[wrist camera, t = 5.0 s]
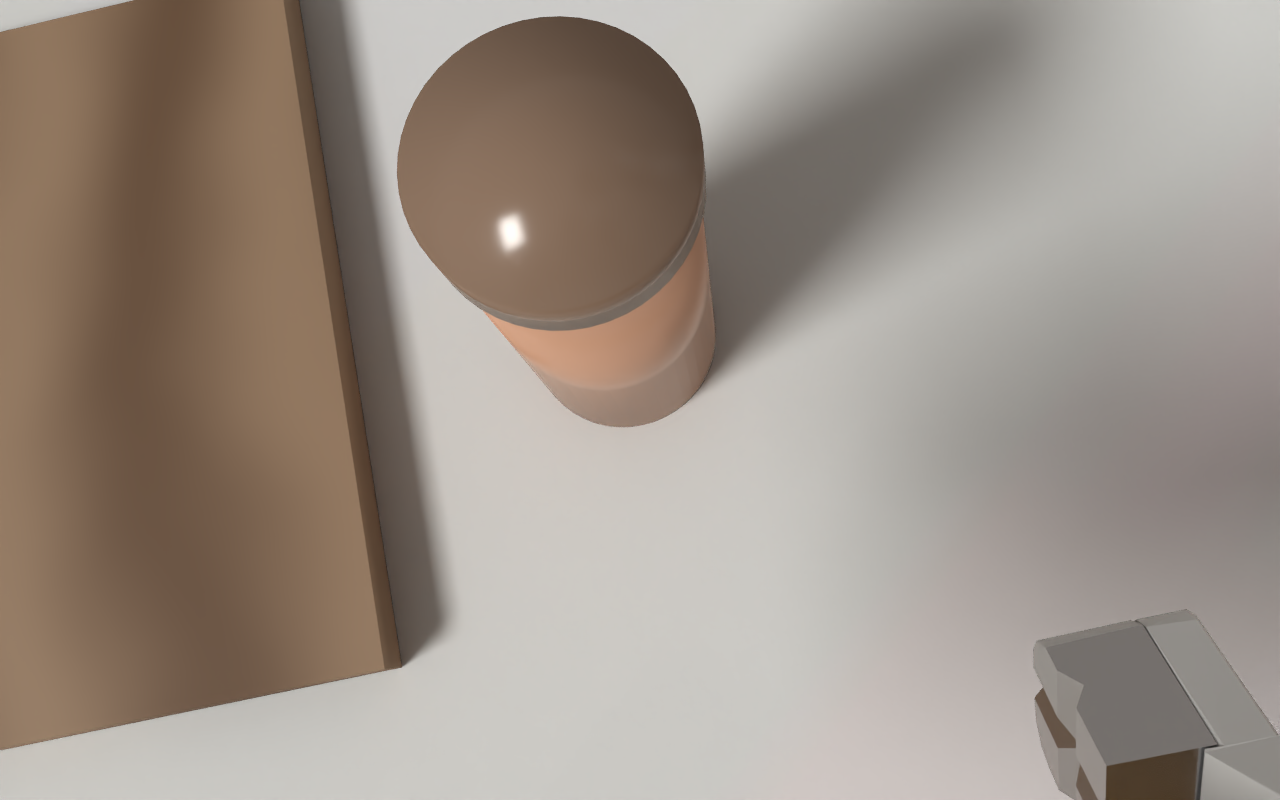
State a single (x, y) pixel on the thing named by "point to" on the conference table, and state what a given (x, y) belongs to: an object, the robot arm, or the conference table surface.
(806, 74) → the conference table surface
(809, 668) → the conference table surface
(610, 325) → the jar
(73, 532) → the board
